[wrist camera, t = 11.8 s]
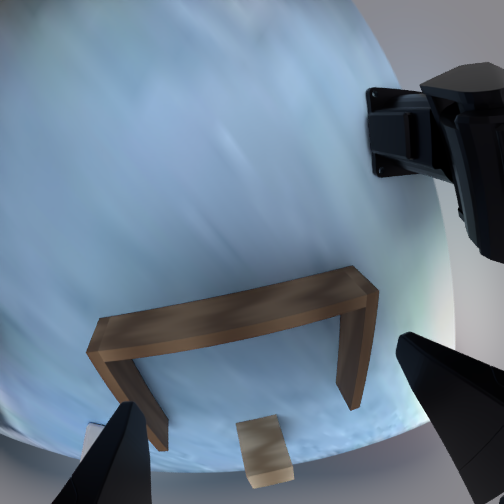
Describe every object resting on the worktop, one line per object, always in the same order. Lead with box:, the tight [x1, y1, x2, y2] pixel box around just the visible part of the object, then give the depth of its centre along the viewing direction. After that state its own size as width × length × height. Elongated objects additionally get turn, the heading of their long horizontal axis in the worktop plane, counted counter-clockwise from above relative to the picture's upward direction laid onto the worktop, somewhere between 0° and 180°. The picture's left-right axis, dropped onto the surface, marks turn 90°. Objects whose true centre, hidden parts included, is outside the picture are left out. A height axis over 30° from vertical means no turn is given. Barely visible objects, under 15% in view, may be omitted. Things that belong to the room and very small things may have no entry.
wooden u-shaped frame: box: [86, 265, 379, 451], centre depth 22 cm, size 20×14×4 cm
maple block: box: [236, 414, 294, 489], centre depth 25 cm, size 4×4×7 cm
